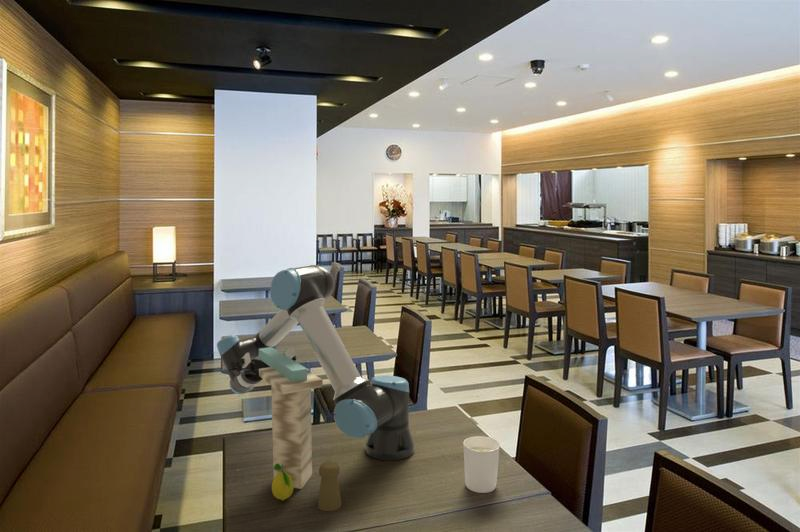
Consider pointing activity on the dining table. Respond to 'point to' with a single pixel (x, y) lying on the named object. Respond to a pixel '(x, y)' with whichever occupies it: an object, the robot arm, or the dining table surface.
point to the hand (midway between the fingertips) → (271, 353)
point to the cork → (329, 487)
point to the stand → (292, 424)
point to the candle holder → (481, 463)
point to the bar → (283, 364)
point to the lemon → (282, 484)
